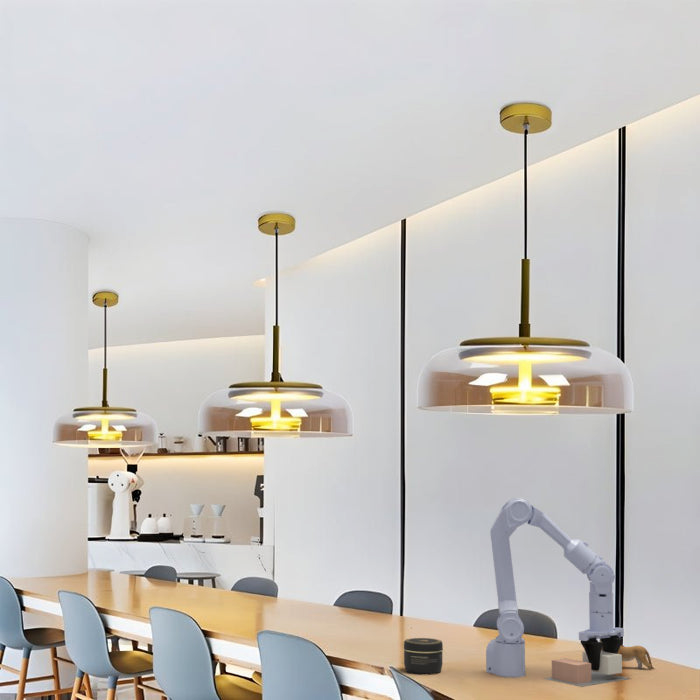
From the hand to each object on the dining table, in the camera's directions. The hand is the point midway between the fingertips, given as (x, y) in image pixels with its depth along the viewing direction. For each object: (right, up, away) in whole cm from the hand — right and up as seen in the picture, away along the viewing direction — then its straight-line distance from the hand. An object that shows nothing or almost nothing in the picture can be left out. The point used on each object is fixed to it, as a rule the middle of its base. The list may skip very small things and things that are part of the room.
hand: (602, 668), depth 244 cm
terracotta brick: (-8, -1, -4) cm, 9 cm away
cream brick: (0, -1, 0) cm, 0 cm away
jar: (-43, -4, +10) cm, 44 cm away
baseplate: (-4, -3, -2) cm, 5 cm away
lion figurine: (+9, -5, +11) cm, 15 cm away
